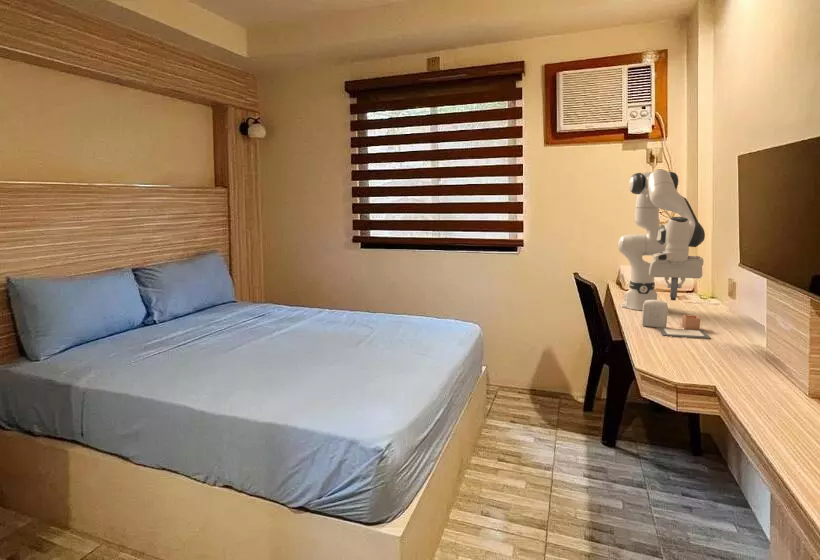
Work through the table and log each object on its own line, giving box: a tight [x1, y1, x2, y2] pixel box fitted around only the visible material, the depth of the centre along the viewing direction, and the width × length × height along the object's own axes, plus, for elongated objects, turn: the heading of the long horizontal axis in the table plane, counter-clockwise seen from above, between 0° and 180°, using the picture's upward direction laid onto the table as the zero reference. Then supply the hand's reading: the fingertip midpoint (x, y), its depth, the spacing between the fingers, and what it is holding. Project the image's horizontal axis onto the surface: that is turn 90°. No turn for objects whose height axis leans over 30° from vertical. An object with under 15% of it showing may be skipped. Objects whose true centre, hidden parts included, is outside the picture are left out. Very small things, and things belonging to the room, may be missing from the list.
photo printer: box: [641, 299, 669, 328], centre depth 231 cm, size 10×4×12 cm, turn 61°
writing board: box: [657, 327, 712, 340], centre depth 219 cm, size 12×18×1 cm, turn 74°
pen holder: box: [681, 314, 701, 330], centre depth 227 cm, size 6×6×6 cm
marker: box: [669, 278, 679, 301], centre depth 217 cm, size 3×3×11 cm
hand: (674, 287), depth 217 cm, fingers closed on marker, 3 cm apart
